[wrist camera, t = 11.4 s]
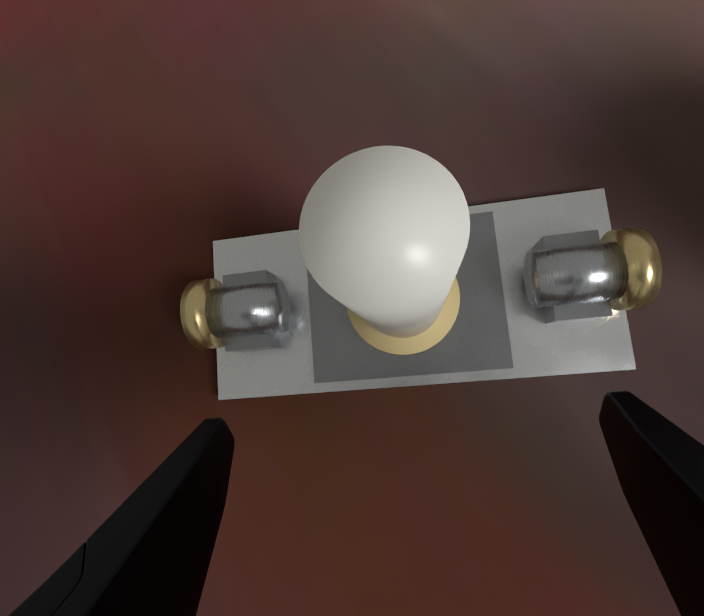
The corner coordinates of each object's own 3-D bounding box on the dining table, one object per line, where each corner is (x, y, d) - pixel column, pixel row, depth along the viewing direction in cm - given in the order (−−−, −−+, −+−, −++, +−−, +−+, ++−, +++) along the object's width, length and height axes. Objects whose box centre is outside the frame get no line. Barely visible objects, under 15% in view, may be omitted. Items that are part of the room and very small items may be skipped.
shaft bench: (599, 192, 21) (640, 153, 17) (629, 368, 20) (682, 370, 16) (217, 244, 24) (177, 220, 20) (223, 398, 23) (182, 406, 19)
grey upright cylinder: (371, 370, 21) (311, 383, 9) (334, 272, 22) (238, 171, 10) (475, 331, 21) (550, 291, 9) (432, 231, 22) (448, 76, 10)
